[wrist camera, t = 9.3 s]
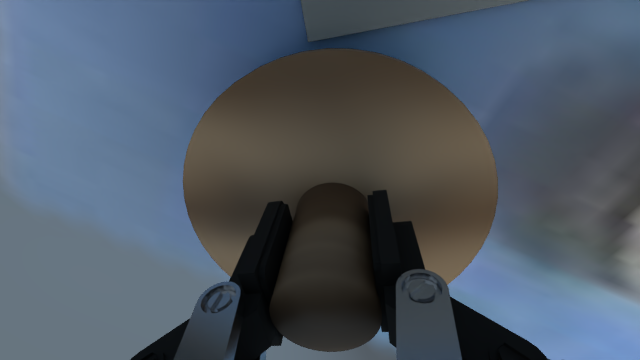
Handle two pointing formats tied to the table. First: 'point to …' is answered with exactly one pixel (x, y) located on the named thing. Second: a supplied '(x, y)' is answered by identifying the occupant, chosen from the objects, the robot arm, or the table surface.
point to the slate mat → (379, 14)
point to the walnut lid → (339, 181)
